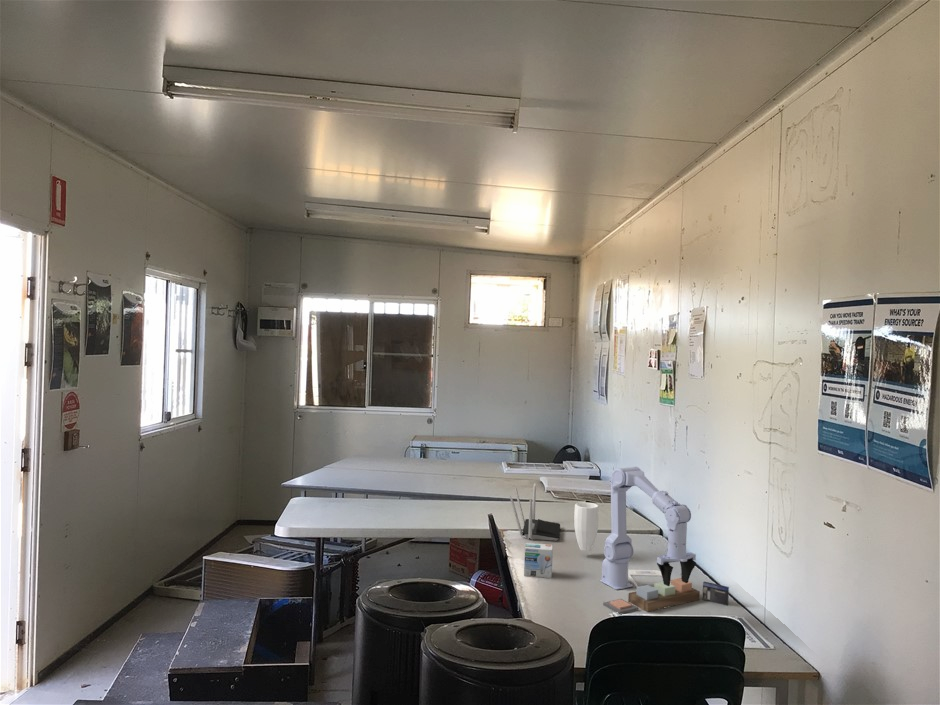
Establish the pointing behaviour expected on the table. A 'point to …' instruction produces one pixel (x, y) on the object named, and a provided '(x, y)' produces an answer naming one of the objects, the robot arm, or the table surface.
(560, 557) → the table surface
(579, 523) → the cup
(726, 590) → the mini dv tape
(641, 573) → the photo frame
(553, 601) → the table surface
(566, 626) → the table surface
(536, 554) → the light bulb box
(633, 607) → the tile
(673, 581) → the block terracotta
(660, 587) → the block sage
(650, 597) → the block slate
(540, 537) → the wireless router
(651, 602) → the wooden block tray
